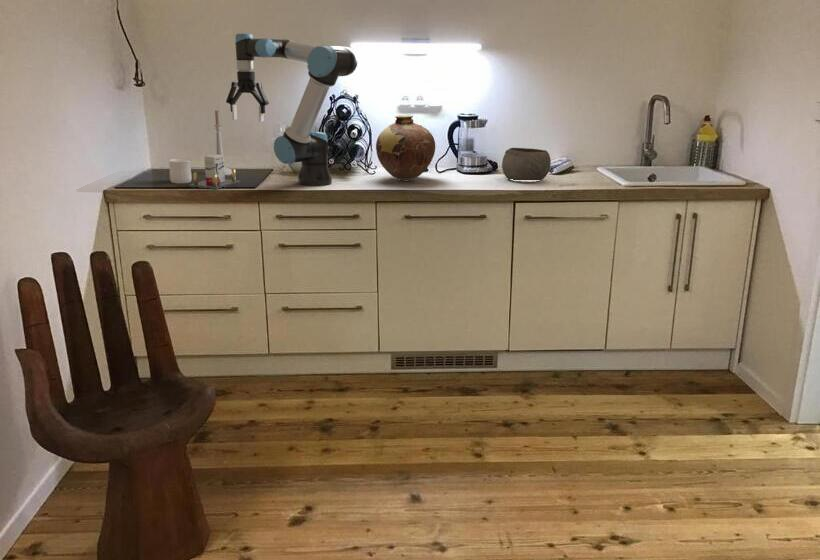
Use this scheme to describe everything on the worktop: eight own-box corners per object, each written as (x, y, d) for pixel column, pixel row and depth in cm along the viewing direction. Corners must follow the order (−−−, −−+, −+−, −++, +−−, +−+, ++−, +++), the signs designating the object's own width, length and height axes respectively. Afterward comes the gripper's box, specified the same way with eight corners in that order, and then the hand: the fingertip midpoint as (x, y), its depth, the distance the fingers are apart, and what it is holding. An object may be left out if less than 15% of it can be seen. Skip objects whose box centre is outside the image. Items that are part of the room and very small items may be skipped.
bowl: (559, 182, 331) (562, 150, 327) (526, 186, 318) (529, 153, 313) (523, 175, 349) (525, 145, 344) (491, 179, 335) (493, 147, 330)
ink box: (215, 184, 300) (214, 157, 296) (205, 183, 301) (203, 156, 297) (225, 181, 308) (224, 154, 304) (215, 180, 309) (214, 154, 305)
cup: (179, 184, 304) (177, 162, 301) (164, 181, 309) (162, 160, 306) (196, 181, 312) (195, 159, 309) (181, 179, 317) (180, 157, 314)
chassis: (240, 182, 311) (239, 169, 309) (217, 189, 295) (216, 175, 293) (213, 180, 315) (212, 167, 313) (189, 186, 299) (188, 172, 297)
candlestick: (230, 176, 327) (226, 110, 318) (203, 175, 328) (199, 110, 319) (237, 171, 340) (234, 108, 330) (212, 171, 340) (207, 108, 331)
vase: (416, 188, 307) (418, 119, 298) (364, 181, 320) (364, 115, 311) (444, 179, 331) (447, 115, 322) (395, 174, 343) (396, 111, 334)
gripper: (275, 71, 304) (277, 121, 310) (226, 70, 311) (228, 118, 318) (266, 71, 297) (268, 122, 304) (216, 70, 305) (219, 119, 311)
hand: (248, 120), depth 311 cm, fingers open, 13 cm apart
